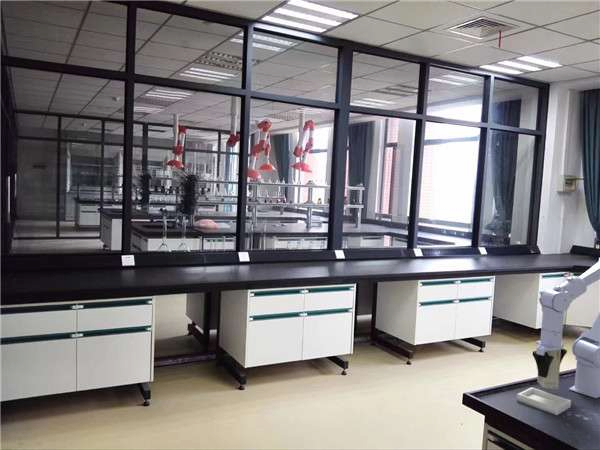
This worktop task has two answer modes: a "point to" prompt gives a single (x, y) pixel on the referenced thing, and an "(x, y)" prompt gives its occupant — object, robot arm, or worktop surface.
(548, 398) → the tray
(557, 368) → the skincare box
